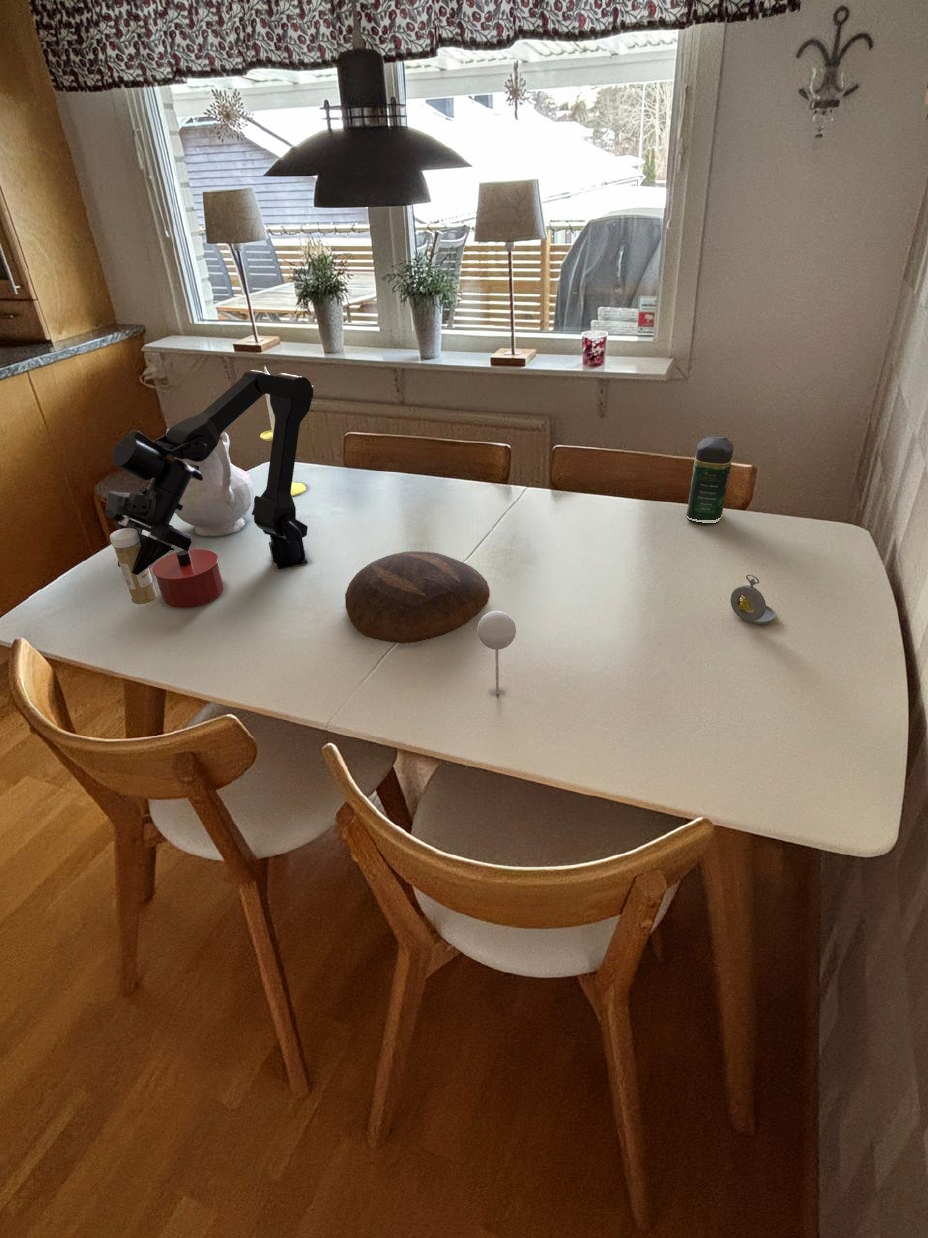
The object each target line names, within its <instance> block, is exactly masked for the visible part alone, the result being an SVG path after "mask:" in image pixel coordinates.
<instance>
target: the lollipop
mask: <svg viewBox="0 0 928 1238" xmlns="http://www.w3.org/2000/svg"><path fill="white" fill-rule="evenodd" d="M476 628H477V629H476V632H477V637H478V639H479V641H480V642H481V644H482V645H483V646H485V647H486V648H488V649H491V650H495V654H494V655H495V694H496V695H499V693H500V677H499V675H500V671H499V670H500V669H499V668H500V667H499V650H503V649H505V648H507V647H509V646H510V645H511V644H512V643H513V641H514V640H515V638H516V634H517V628H516V623H515V621H514V619H513V618H512V617H511V616H510V615H509V614H508V613H506V612H504V611H500V610H492V611H489V612H487V613H485V614H484V615H483V616H482V617H481V618H480V619H479V622H478V624H477V627H476Z"/></svg>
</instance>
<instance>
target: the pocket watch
mask: <svg viewBox="0 0 928 1238" xmlns="http://www.w3.org/2000/svg"><path fill="white" fill-rule="evenodd" d="M749 577H752V578H751V579H749ZM745 578H746V580H747V581H748V582H749V584H742V585H739V586H737V587H736V588H735V589H734V590H733V591H732V593H731V595H730V601H729V602H730V605H731V608H732V611H733V612H734V613H735V614H736V616H737V617H738V618H739V619H740V620H742V621H744V622H747V623H749V624H754V625H769V624H770V623H772V622H774V621H775V619H776V616H777V615H776V611H775V610H774V609H773V608H772V607H770V606H769V605H767V602H766V599H765V596H764V595H763V594H762V592H761V591H760V590H758V589H757V588H756V587H754V586H755V585H758V584H760V580H759V578H758V577H756V576H755V575H753V574H746V575H745ZM755 580H756V581H755Z"/></svg>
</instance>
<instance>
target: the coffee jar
mask: <svg viewBox="0 0 928 1238" xmlns="http://www.w3.org/2000/svg"><path fill="white" fill-rule="evenodd" d="M695 450H696V451H695V456H694V461H693V462H694V463H693V469H692V470H693V471H692V476H691V482H690V490H689V495H688V496H689V497H688V502H687V509H686V519H687V521H689V522H691V523H694V524H696V525H700V526H711V525H717V524H718V523H720V521H718V522H716V523H702V522H696V521H692V520H689V519H688V518H687V516H688V517H689V518H692V519H697V520H716V519H718V518H720V517H721V515H722V516H723V512H724V506H725V500H726V495H727V490H728V487H729V486H728V485H729V481H730V474H731V469H732V461H733V455H734V444H733V443H732V441H730V440H729V439H728V438H727V437H723V436H713V435H711V436H710V435H709V436H708V437H705V438H704V439H702V440H700V441H699V442H698V444H697V446H696V449H695ZM721 518H722V517H721Z"/></svg>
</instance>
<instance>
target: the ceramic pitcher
mask: <svg viewBox="0 0 928 1238" xmlns="http://www.w3.org/2000/svg"><path fill="white" fill-rule="evenodd" d="M169 429H170V428H167V429H166V433H165V434H167V432H168V430H169ZM230 443H231V441H230V436H229V435H228V434H227V432H226V431H223V433H222V434H221V435H220V438H219V442H218V445H217V446H216V448H215V449H214V450H213V451H212V453H211V454H210V455H209V457H208V458H207V459H205V460H204V461H201V462H195V461H191V460H187V459H179V460H181V461H182V462H184V463H186V464H188V465H189V464H195V465H198V466H199V470H200V472H201V474H202V477H203V480H202V481H200V480H197V479H194V478H191V479H190V481H189V484H188V486H187V488H186V490H185V492H184V494H183V496H182V498H181V500H180V502H179V504H181V505H183V508H182V510H181V511H180V510H177V509H176V511H175V513H174V514H175V515H176V516H177V517H178V518H179V519H180V520H181V521H183V522H184V523H186V524H189V525H190V526H193V527H195V528H194V532H195V534H196V535H197V536H198V537H200V536H201V537H203V536H204V537H225V536H227V535H230V534H233V533H235V532H239V531H241V530H242V529H243V527H244V525H246V523H247V522H246V520H245V519H243V517H244V516H246V515H247V513H248V512H249V510H250V507H251V505H252V504H253V502H254V485H253V481H252V479H251V476H250V475H249V473H247V472H246V470H244V469H242V468H240V467H237V465H234V464H233V463H232V462H231V458H230V454H229V451H230V449H229V448H230ZM173 459H178V458H175V457H173Z"/></svg>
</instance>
